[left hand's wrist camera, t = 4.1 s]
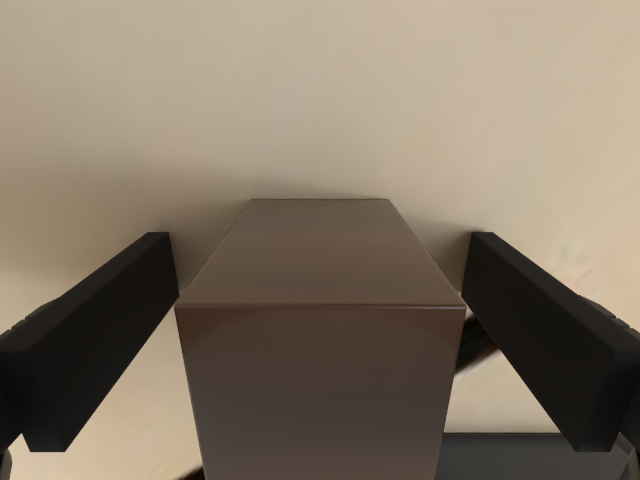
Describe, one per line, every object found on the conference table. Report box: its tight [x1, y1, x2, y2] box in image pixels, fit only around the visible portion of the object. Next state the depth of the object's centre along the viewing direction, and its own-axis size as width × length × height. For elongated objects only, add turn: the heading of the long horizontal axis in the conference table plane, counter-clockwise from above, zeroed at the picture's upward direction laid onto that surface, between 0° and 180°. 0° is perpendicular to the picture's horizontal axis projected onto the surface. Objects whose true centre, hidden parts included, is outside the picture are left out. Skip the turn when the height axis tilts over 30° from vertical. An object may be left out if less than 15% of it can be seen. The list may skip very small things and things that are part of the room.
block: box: [174, 199, 467, 480], centre depth 10 cm, size 5×5×7 cm
